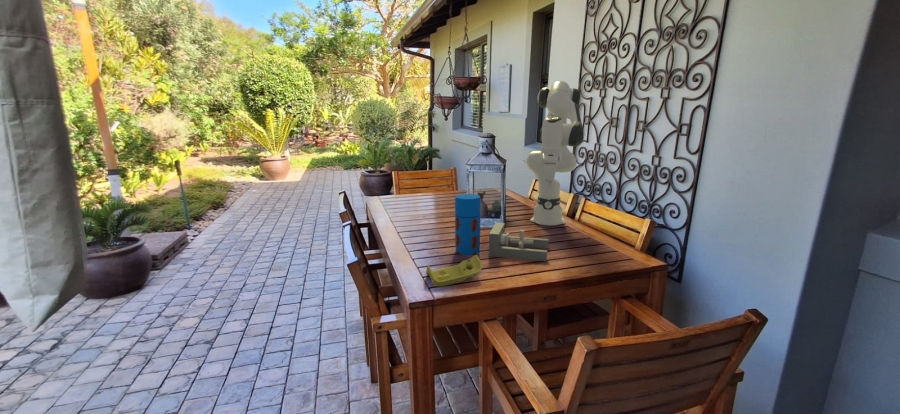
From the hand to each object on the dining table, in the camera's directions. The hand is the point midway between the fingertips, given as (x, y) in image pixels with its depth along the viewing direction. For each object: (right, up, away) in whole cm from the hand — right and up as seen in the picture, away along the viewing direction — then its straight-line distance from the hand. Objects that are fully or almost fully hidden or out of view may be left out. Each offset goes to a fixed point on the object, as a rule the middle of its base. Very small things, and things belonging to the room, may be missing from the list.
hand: (549, 187), depth 175 cm
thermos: (-36, -29, 0) cm, 46 cm away
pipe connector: (-13, -29, -1) cm, 32 cm away
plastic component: (-42, -36, -27) cm, 62 cm away
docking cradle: (-13, -28, 0) cm, 31 cm away
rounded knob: (-22, -26, +2) cm, 34 cm away
